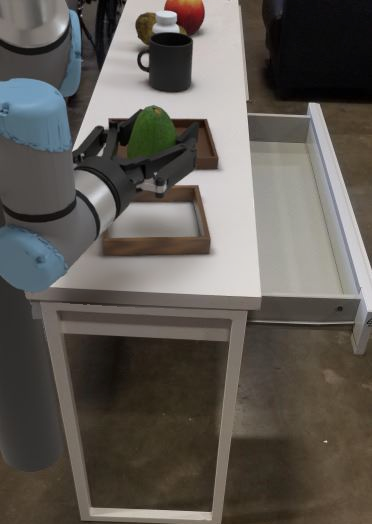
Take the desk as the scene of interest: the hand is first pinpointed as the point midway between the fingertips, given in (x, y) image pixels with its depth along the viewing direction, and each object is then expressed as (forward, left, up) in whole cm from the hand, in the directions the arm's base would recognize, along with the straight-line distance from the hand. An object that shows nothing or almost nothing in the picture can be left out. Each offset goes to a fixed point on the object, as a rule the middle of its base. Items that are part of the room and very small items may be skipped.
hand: (168, 125), depth 83 cm
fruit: (+12, +89, -14) cm, 91 cm away
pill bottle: (+5, +63, -14) cm, 64 cm away
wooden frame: (-2, -4, -14) cm, 15 cm away
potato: (+5, +75, -14) cm, 76 cm away
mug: (+4, +53, -14) cm, 55 cm away
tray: (+1, +22, -14) cm, 26 cm away
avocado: (-2, -4, -8) cm, 9 cm away
